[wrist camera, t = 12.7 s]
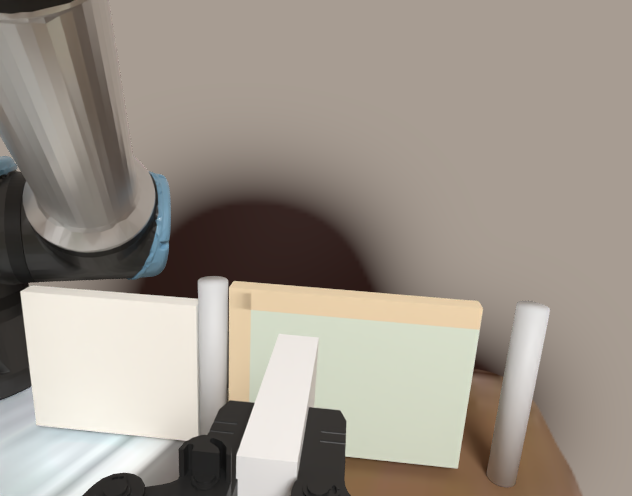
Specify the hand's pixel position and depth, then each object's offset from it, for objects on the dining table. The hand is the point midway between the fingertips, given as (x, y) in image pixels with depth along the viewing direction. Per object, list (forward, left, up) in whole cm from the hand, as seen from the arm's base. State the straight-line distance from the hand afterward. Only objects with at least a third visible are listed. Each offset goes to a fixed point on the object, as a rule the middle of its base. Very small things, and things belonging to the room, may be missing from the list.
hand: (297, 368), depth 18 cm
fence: (-21, -4, -20) cm, 29 cm away
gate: (-20, +2, -19) cm, 28 cm away
